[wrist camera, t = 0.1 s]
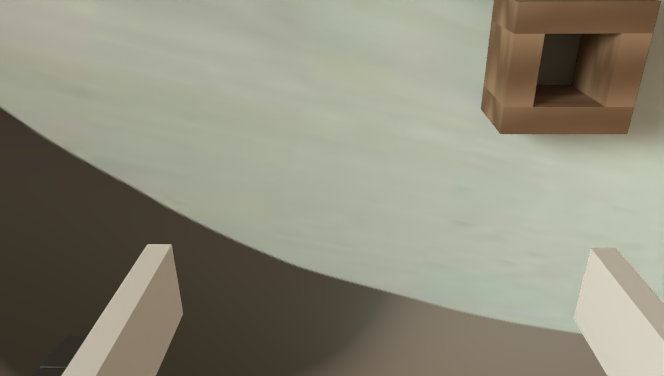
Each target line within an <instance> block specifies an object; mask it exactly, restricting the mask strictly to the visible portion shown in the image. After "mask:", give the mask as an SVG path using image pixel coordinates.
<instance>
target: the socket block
mask: <svg viewBox="0 0 664 376" xmlns="http://www.w3.org/2000/svg"><path fill="white" fill-rule="evenodd" d="M660 3H661V1H659V0H494V6H493V14H492V22H491V31H490V39H489V47H488V55H487V64H486V72H485V80H484V88H483V97H482V105H481V110H482V111H483V112H484V114H485V115H486V116H487V117H488V119H489V120H490V121H491V123H492V124H493V125H494V126H495V128H496V129H497V130H498V132H499V133H500V134H627V133H628V129H629V125H630V121H631V117H632V113H633V109H634V105H635V102H636V98H637V94H638V90H639V86H640V82H641V78H642V74H643V70H644V66H645V62H646V58H647V54H648V50H649V46H650V43H651V39H652V35H653V31H654V27H655V23H656V19H657V15H658V11H659V7H660ZM545 34H581V40H580V45H579V50H578V55H577V60H576V65H575V70H574V75H573V80H572V85H537V79H538V73H539V67H540V61H541V55H542V49H543V43H544V37H545Z"/></svg>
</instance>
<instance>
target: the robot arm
mask: <svg viewBox="0 0 664 376" xmlns="http://www.w3.org/2000/svg"><path fill="white" fill-rule="evenodd" d="M182 315H183V310H182V304H181V299H180V293H179V286H178V281H177V274H176V269H175V263H174V257H173V251H172V245H171V244H147V246H146V247H145V249H144V251H143V252H142V254H141V255H140V257H139V258H138V260H137V261H136V263H135V264H134V266H133V267H132V269H131V270H130V272H129V273H128V275H127V276H126V278H125V279H124V281H123V283H122V284H121V286H120V287H119V289H118V290H117V292H116V293H115V295H114V296H113V298H112V299H111V301H110V302H109V304H108V306H107V307H106V309H105V310H104V312H103V313H102V315H101V316H100V318H99V319H98V321H97V322H96V324H95V325H94V327H93V328H92V330H91V331H90V333H89V335H88V336H68V337H67V338H66V339H65V340H63V341H62V342H61V343H60V344H58V345H57V346H56V347H54V348H53V349H52V350H51V351H50V353H49V354H48V356H47V357H46V358H45V360H44V361H43V362H42V364H41V365H40V369H37V371H36V372H35V374H34V375H33V376H155V375H156V374H157V372H158V369H159V367H160V365H161V362H162V360H163V358H164V356H165V353H166V351H167V349H168V346H169V344H170V342H171V340H172V337H173V335H174V332H175V330H176V328H177V326H178V324H179V322H180V319H181V317H182ZM574 320H575V322H576V324H577V325H578V327H579V329H580V330H581V332H582V334H583V335H584V337H585V339H586V340H587V342H588V343H589V345H590V347H591V349H592V350H593V352H594V354H595V355H596V357H597V359H598V360H599V362H600V364H601V366H602V367H603V369H604V371H605V372H606V374H607V376H664V303H663V302H662V301H661V300H660V299H659V297H658V296H657V295H656V294H655V293H654V292H653V290H652V289H651V288H650V287H649V286H648V285H647V284H646V282H645V281H644V280H643V279H642V278H641V277H640V275H639V274H638V273H637V272H636V271H635V270H634V269H633V267H632V266H631V265H630V264H629V263H628V262H627V260H626V259H625V258H624V257H623V256H622V255H621V254H620V252H619V251H618V250H617V249H616V248H591V250H590V254H589V258H588V262H587V266H586V270H585V274H584V278H583V283H582V287H581V291H580V295H579V299H578V303H577V307H576V311H575V315H574Z"/></svg>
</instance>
